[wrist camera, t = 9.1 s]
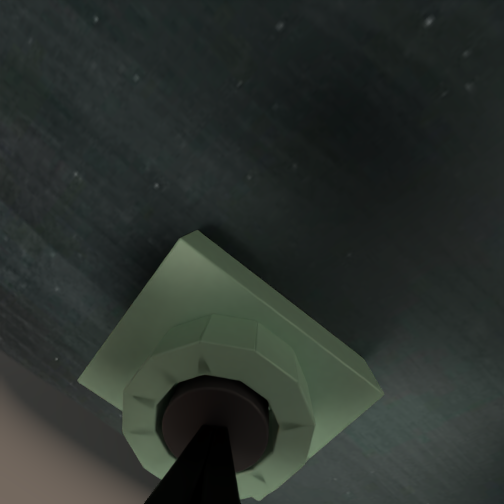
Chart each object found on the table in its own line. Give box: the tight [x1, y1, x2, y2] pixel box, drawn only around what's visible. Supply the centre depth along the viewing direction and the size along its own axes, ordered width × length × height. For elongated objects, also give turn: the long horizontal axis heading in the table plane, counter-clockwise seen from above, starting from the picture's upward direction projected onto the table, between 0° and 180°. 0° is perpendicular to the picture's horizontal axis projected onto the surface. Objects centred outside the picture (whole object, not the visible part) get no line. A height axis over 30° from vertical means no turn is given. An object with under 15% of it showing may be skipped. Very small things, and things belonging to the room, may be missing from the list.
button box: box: [78, 230, 384, 501], centre depth 10 cm, size 10×8×4 cm
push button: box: [162, 375, 269, 473], centre depth 9 cm, size 4×4×2 cm
